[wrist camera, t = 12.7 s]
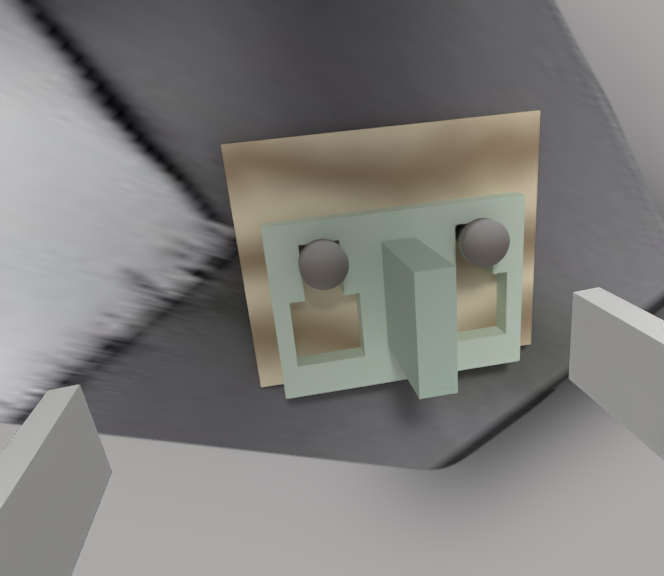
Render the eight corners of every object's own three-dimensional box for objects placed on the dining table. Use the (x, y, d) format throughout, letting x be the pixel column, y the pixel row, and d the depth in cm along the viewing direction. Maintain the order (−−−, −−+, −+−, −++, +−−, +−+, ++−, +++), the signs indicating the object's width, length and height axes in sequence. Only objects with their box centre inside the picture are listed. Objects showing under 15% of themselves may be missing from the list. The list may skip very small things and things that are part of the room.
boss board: (221, 144, 32) (216, 147, 28) (532, 110, 35) (571, 108, 30) (260, 381, 38) (261, 413, 34) (524, 339, 41) (556, 364, 36)
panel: (260, 223, 34) (261, 256, 25) (513, 191, 35) (594, 212, 27) (284, 388, 38) (293, 464, 29) (509, 351, 40) (578, 413, 31)
